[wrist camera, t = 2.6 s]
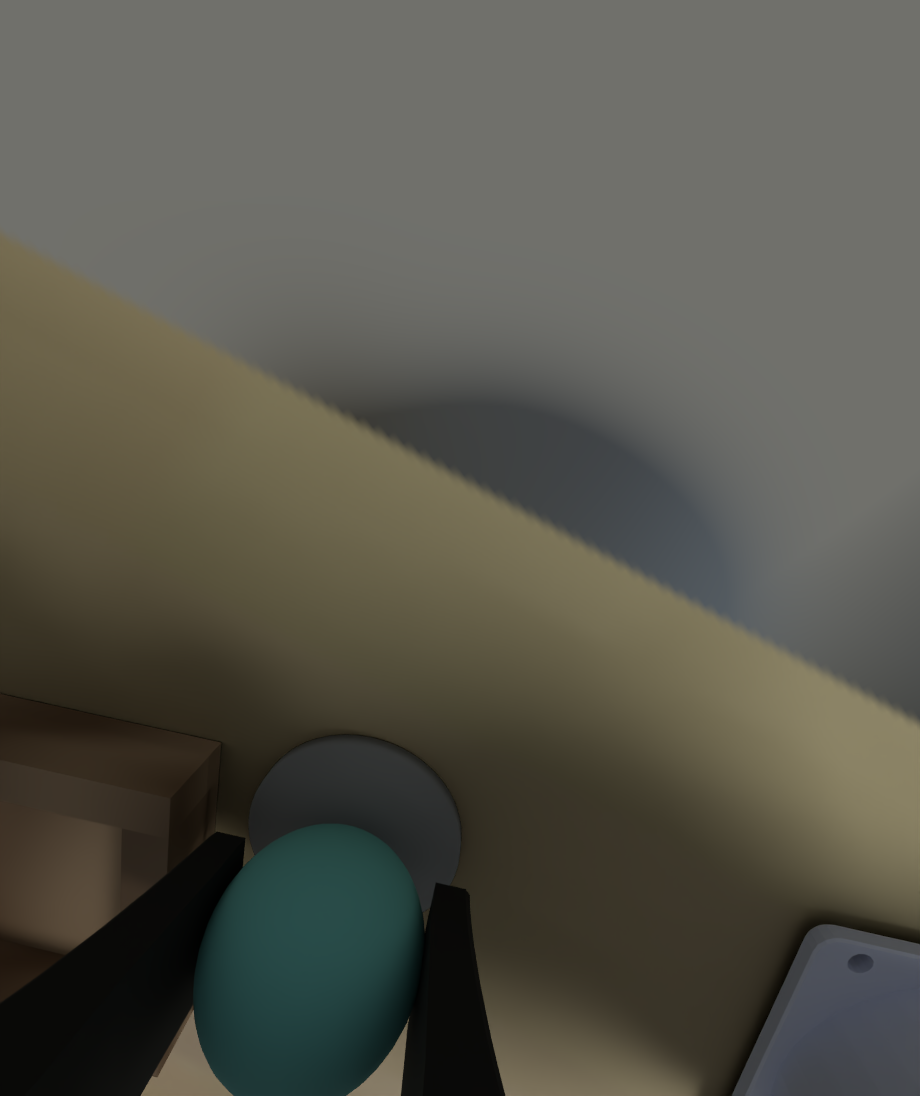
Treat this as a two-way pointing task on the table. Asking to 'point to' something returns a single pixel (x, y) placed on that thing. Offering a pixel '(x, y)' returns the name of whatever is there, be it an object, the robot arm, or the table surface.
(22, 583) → the table surface
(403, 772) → the coaster
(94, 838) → the tray
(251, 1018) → the ball
